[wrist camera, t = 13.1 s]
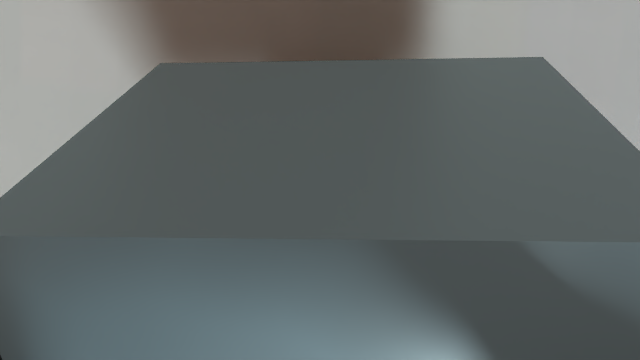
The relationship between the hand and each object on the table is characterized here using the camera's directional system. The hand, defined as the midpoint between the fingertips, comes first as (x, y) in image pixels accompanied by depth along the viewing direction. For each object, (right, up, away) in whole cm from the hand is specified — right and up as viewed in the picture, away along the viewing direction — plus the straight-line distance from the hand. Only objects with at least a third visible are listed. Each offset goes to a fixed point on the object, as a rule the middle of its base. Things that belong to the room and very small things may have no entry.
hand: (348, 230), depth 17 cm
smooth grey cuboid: (0, 0, +1) cm, 1 cm away
